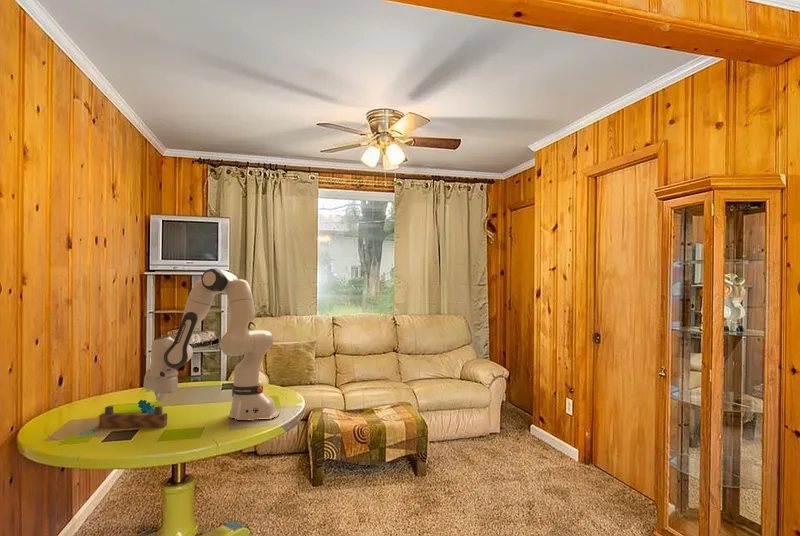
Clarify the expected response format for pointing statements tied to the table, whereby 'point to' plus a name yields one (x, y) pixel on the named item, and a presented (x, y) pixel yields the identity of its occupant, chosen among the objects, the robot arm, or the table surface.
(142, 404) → the gear
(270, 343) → the robot arm
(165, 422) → the stop bar
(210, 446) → the table surface
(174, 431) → the table surface
